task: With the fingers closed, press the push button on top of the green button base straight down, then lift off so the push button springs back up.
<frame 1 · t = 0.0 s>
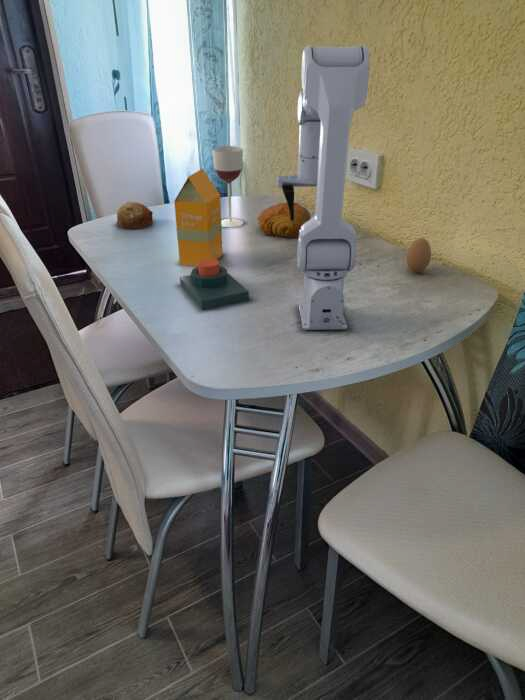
hand: (308, 219, 114), 10 cm above the table, tool pointing down, fingers open, 7 cm apart
push button: (208, 267, 103), point 5 cm above the table, slide at 0.1 cm
bread roll: (135, 224, 144), on the table
orange juice: (201, 260, 120), on the table
egg: (415, 273, 114), on the table
wineglass: (230, 223, 144), on the table
golden brown pastry bun: (283, 230, 140), on the table
green button base: (213, 292, 104), on the table
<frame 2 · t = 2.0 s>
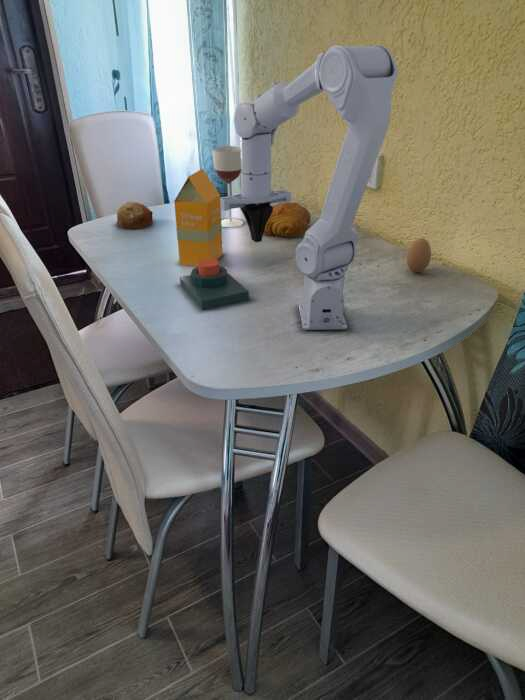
hand: (256, 240, 104), 9 cm above the table, tool pointing down, fingers closed
nothing on the table moved.
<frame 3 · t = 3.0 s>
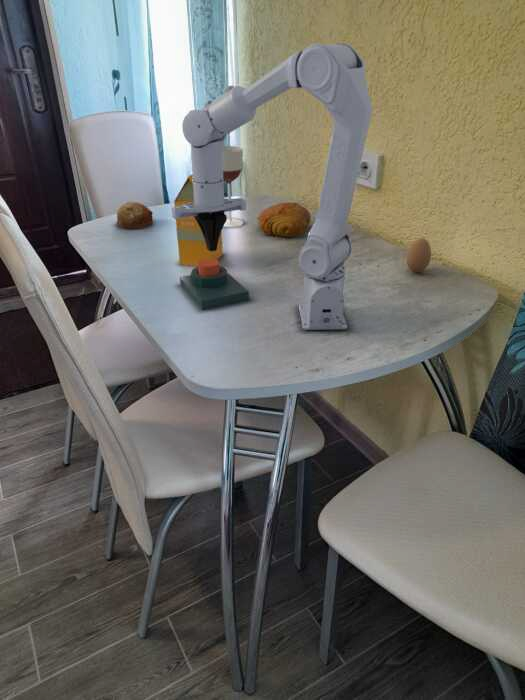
hand: (211, 249, 101), 9 cm above the table, tool pointing down, fingers closed
nothing on the table moved.
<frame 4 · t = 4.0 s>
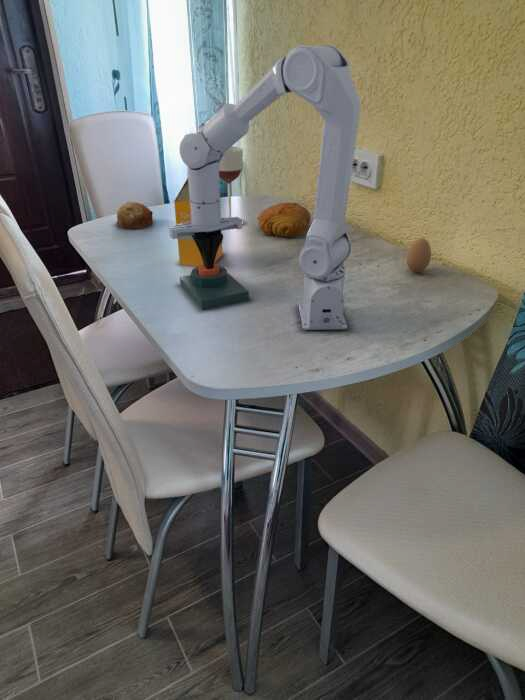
hand: (208, 267, 103), 5 cm above the table, tool pointing down, fingers closed, pressing on push button
push button: (209, 272, 104), point 4 cm above the table, slide at -0.9 cm, touching gripper
everything else where it was.
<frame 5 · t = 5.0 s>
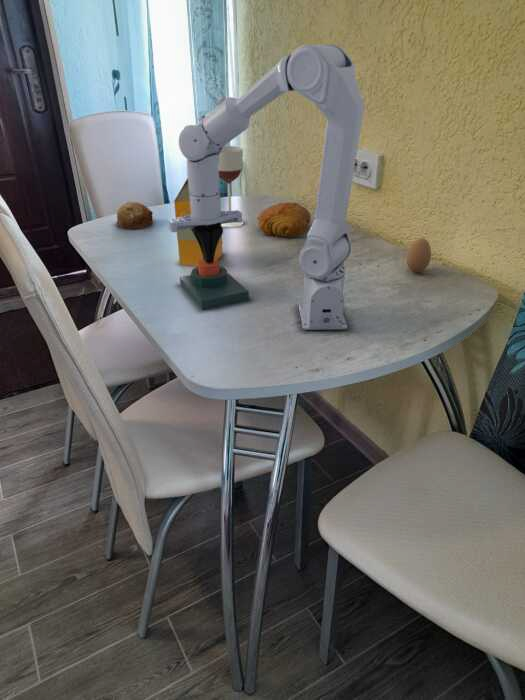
hand: (208, 261, 102), 6 cm above the table, tool pointing down, fingers closed
push button: (208, 267, 103), point 5 cm above the table, slide at 0.1 cm
everything else where it was.
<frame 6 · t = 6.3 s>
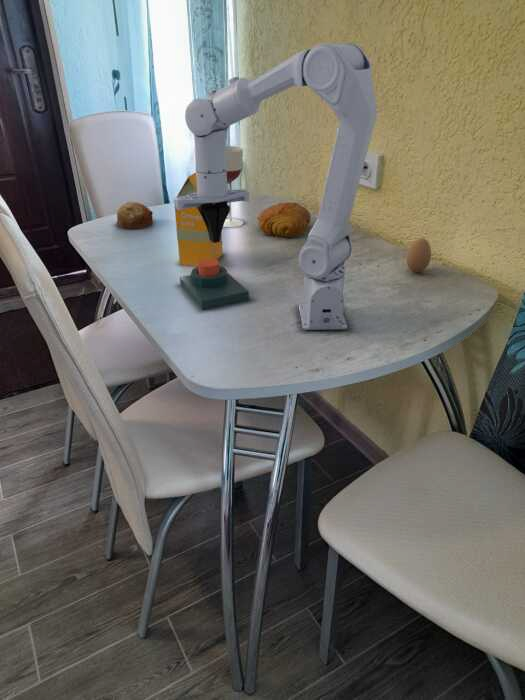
hand: (214, 241, 101), 10 cm above the table, tool pointing down, fingers closed
nothing on the table moved.
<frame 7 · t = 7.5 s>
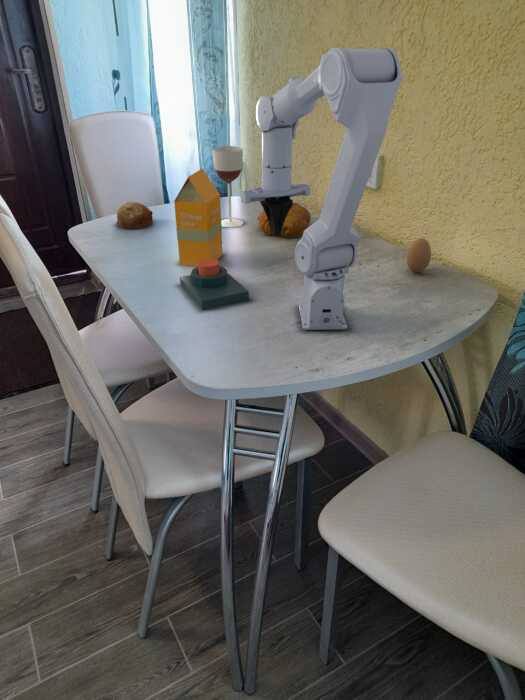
hand: (275, 234, 104), 10 cm above the table, tool pointing down, fingers closed
nothing on the table moved.
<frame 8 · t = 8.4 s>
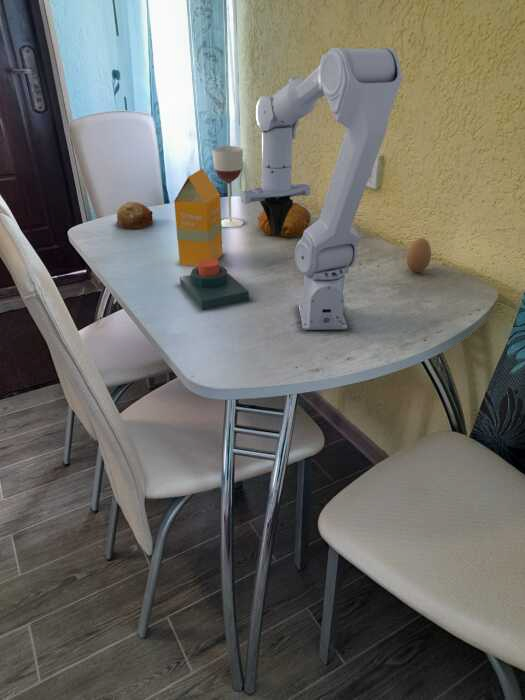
hand: (275, 234, 104), 10 cm above the table, tool pointing down, fingers closed
nothing on the table moved.
at the end: push button pushed in 1.4 cm at the most during the clip, back to where it started at the end; push button slide at 0.1 cm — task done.
